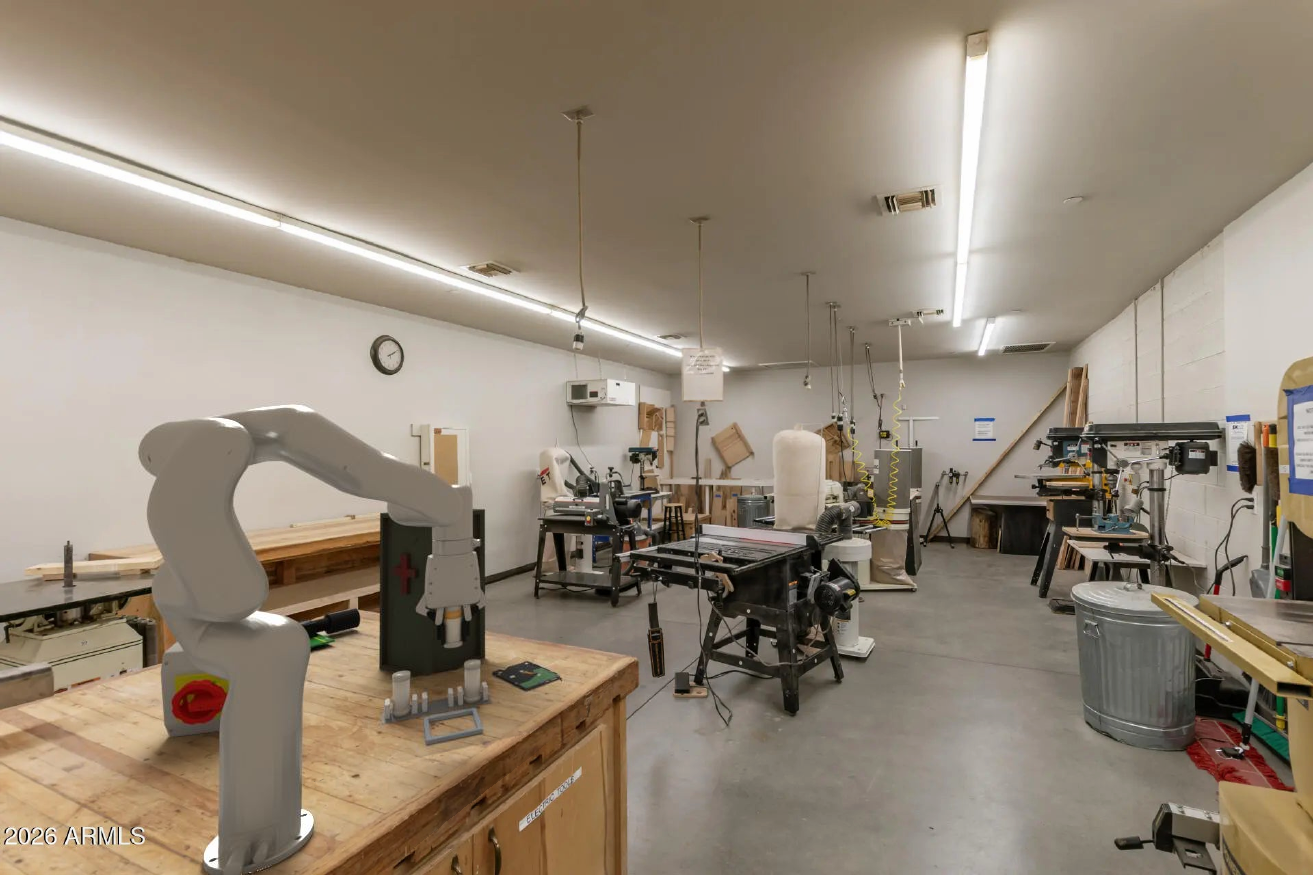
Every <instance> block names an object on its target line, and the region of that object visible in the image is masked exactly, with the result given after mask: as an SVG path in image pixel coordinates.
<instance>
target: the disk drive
mask: <svg viewBox="0 0 1313 875" xmlns="http://www.w3.org/2000/svg"><path fill="white" fill-rule="evenodd" d="M491 674H492V676H493V677H496V678H498V679H500V680H503V681H504V682H506V683H508V684H510V685H512V686H514V687H516V688H518V689H520V690H522V691H524V692H528V691H531V690H533V689H536V688H539V687H541V686H543V685H547V684H550V683H552V682H555V681H558V680H560V681H561V682H563V678H562V677H561V675H560V674H558V673H557V672H555V671H552V670H550V669H548V668H546V667H543V666H541V665H539V664H537V663H534V662H532V661H529V660H526V661H523V662H519V663H516V664H512V665H509V666H508V667H506V668H505V669H501V668H500V669H496V670H494V671H492V673H491Z"/></svg>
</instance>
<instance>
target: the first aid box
mask: <svg viewBox="0 0 1313 875" xmlns="http://www.w3.org/2000/svg"><path fill="white" fill-rule="evenodd" d="M473 538H474V539H476V540H480V546H477V547H475V548H474V549H473V552H476V554H477V559H478V567H479V575H480V588H481V590H482V591H483V593H484V595H485V596H486V509H483V508H473ZM429 555H432V527H416V526H405V525H401V524H399V523H397V522H395V521H394V520H392V519H391V517H390V516H389V514H388V511H386V512H380V513H379V637H378V638H379V645H378V647H379V648H378V649H379V650H378V651H379V652H378V653H379V654H378V656H379V657H378V658H379V661H378V662H379V663H378V664H379V667H378V668H379V670H382V671H387V672H389V673H393V674H394V673H396V672H399V671H410V679H411V678H414V677H415V678H416V677H422V676H426V677H427V676H430V675H432V674H433V675H435V674H441V673H446V672H452V671H453V672H454V671H457V670H459V669H461V668H464V663H465V662H466V661H468V660H480V659H481V660H483V659H482V658H484V659H486V605H485V606H484V607H482V608H480V609H479V610H478V611H477V612H476V613H475V615H474V616H473V617H472V618H471V620H470V636H467V642H462V645H461V646H459V647H455V648H445V647H444V645H442V646H441V644H440V640H436V623H435V622H433V621H432V620H431V619H430V618H428V617H427V616H425V615H422V614H420V613H417V612H416V607H417V605H418V604H419V602H420V600H421V598H422V597H423V595H424V593H425V573H426V565H427V559H428V556H429ZM472 605H473V604H471V605H470V607H471V606H472ZM425 607H426V608H428V607H427V606H425ZM428 609H431V608H428ZM431 610H433V611H434V612H435V610H436V609H431ZM463 615H464V614H463V607H462V616H463ZM443 621H444V610H443ZM481 660H480V661H481Z"/></svg>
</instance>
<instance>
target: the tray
mask: <svg viewBox="0 0 1313 875" xmlns="http://www.w3.org/2000/svg"><path fill="white" fill-rule="evenodd" d="M468 715H472V716H473V719H474V720H473V721H474V723H475V724H474V725H475V726H476V728H471V729H466V730H462V731H456V732H452V733H447V734H443V735H442V734H441V735H437V736H433V737H431V730H430V724H429V723H432V722H437V721H442V720H448V719H453V718H457V717H463V716H468ZM423 727H424V728H423V730H424V737H425V738H424V740H425V746H428V745H431V744H436V743H442V742H446V741H449V740H450V741H451V740H455V739H460V738H465V737H469V736H474V735H477V734H478V735H479V734H483V733H484V728H483V725H482V722H481V719H480V716H479V713H478V709H477V707H471V708H466V709H461V710H459V711H458V710H455V711H450V712H445V713H440V714H435V715H430V716H425V717H424V718H423Z"/></svg>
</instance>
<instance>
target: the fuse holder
mask: <svg viewBox="0 0 1313 875" xmlns="http://www.w3.org/2000/svg"><path fill="white" fill-rule="evenodd" d="M480 694H481V699H480V701H478V702H475V703H465V702H464V695H465V694H464V691H463V687H462V685H459V686H457V687H456V696H454V689H453V687H448V688H447V697H446V698H440V699H434V700H430V701H428V692H422V693H421V702H418V694H417V693H413V694H411V696H412V697H411V698H412V699H411V701H412V702H411V704H410V713H409V714H408V715H406V716H402V717H393V716H392V709H393V707H391V698H386V699H385V700H384V709H382V711H381V712H382V716H381V725H386V724H391V723H398V722H402V721H408V720H412V719H417V718H423V717H429V716H435V715H440V714H445V713H450V712H455V711H458V710H459V711H460V710H465V709H471V708H476V707H479V706H484V705H490V704H492V700H491V697H490V695H489V686H488V684H487V682H486V681H482V682H481V691H480Z"/></svg>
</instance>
